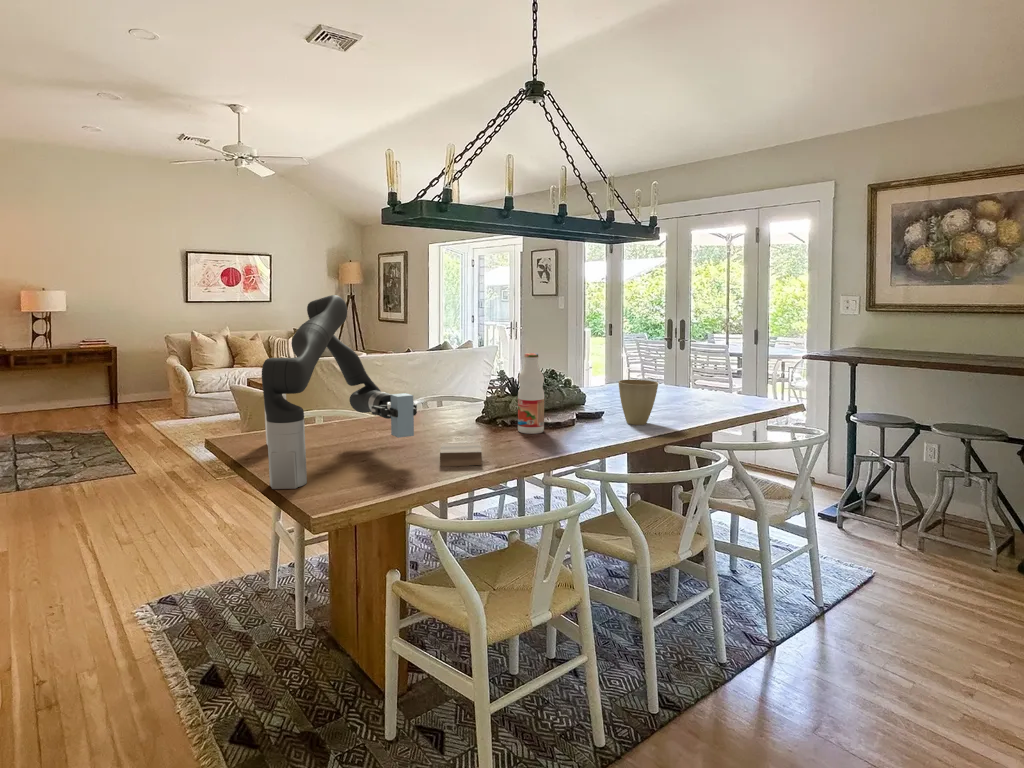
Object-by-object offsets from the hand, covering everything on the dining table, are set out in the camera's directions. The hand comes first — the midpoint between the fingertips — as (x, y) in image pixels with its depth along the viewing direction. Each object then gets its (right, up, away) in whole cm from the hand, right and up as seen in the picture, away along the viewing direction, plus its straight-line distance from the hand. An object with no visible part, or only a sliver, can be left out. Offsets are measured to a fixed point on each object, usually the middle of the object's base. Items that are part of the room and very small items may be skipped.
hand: (405, 412), depth 192 cm
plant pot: (+79, -7, +61) cm, 100 cm away
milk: (-46, -12, +25) cm, 54 cm away
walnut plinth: (+16, -15, +6) cm, 22 cm away
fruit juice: (+38, -9, +46) cm, 60 cm away
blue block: (-1, -7, +3) cm, 7 cm away
